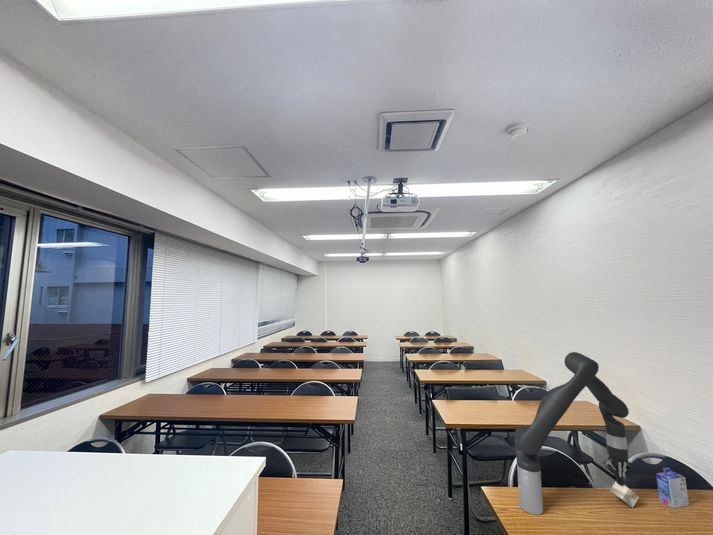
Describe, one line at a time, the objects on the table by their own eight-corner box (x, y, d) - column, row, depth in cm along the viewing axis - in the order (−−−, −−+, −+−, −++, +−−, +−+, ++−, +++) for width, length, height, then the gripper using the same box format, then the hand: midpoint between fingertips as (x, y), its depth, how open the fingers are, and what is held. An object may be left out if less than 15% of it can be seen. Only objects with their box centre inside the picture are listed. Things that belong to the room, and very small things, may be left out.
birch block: (621, 499, 131) (628, 488, 131) (609, 491, 137) (616, 480, 137) (632, 508, 131) (639, 496, 131) (619, 499, 137) (626, 488, 137)
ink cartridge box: (674, 498, 138) (670, 465, 139) (689, 506, 132) (685, 471, 134) (658, 500, 136) (654, 467, 137) (672, 508, 130) (668, 474, 132)
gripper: (610, 449, 132) (614, 490, 130) (638, 448, 133) (642, 489, 131) (596, 441, 140) (599, 480, 138) (622, 440, 140) (626, 479, 138)
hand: (620, 484), depth 134 cm, fingers closed
